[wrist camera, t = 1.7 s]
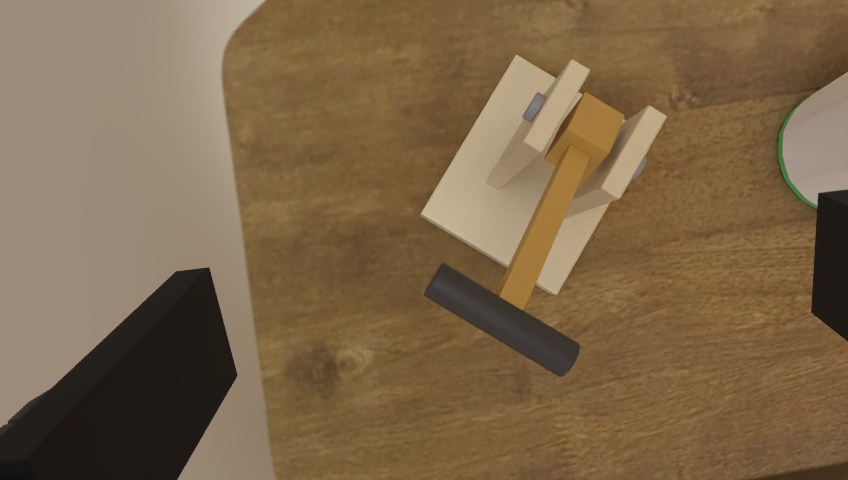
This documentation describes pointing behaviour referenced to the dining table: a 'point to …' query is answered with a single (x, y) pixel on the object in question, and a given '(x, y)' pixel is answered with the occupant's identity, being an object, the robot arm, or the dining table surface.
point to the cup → (817, 143)
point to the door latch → (532, 170)
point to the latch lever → (536, 245)
